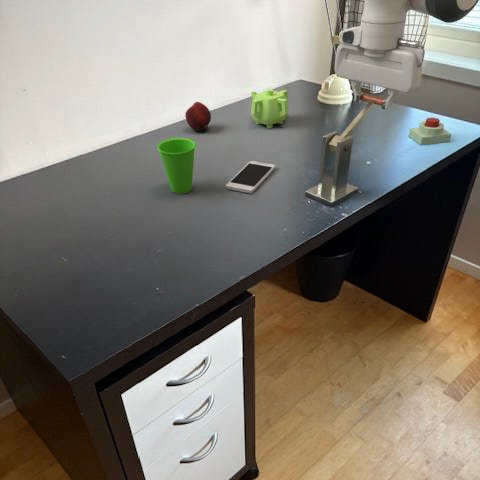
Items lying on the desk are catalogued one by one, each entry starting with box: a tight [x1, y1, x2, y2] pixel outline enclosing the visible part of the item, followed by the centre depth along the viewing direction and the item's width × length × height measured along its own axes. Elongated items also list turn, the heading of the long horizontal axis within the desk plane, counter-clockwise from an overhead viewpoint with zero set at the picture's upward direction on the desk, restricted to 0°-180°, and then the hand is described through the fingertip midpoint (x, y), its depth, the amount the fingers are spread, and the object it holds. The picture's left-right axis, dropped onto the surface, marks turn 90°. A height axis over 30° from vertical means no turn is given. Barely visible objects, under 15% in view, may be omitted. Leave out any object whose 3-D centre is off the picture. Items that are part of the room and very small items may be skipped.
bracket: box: [304, 130, 359, 208], centre depth 109 cm, size 10×8×14 cm
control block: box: [407, 120, 452, 146], centre depth 136 cm, size 9×7×4 cm
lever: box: [329, 93, 386, 153], centre depth 106 cm, size 16×6×2 cm, turn 134°
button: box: [425, 117, 441, 128], centre depth 134 cm, size 4×4×2 cm
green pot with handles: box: [250, 88, 290, 129], centre depth 146 cm, size 12×12×10 cm
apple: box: [184, 101, 212, 132], centre depth 144 cm, size 7×8×8 cm
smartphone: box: [225, 160, 276, 194], centre depth 120 cm, size 7×15×1 cm, turn 155°
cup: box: [156, 137, 197, 195], centre depth 114 cm, size 9×9×11 cm
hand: (371, 105), depth 108 cm, fingers closed on lever, 6 cm apart
